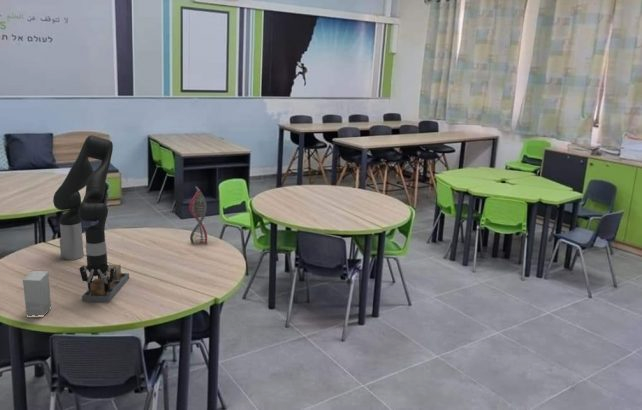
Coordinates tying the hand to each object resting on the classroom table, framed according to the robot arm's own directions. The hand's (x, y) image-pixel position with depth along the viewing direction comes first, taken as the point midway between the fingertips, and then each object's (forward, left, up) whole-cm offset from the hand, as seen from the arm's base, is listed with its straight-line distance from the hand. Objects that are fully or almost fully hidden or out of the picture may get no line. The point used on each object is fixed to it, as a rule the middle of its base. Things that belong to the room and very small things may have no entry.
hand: (99, 290), depth 223 cm
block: (0, 0, -2) cm, 2 cm away
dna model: (+26, +68, -3) cm, 73 cm away
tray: (0, +8, -3) cm, 8 cm away
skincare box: (-17, -15, -3) cm, 23 cm away
